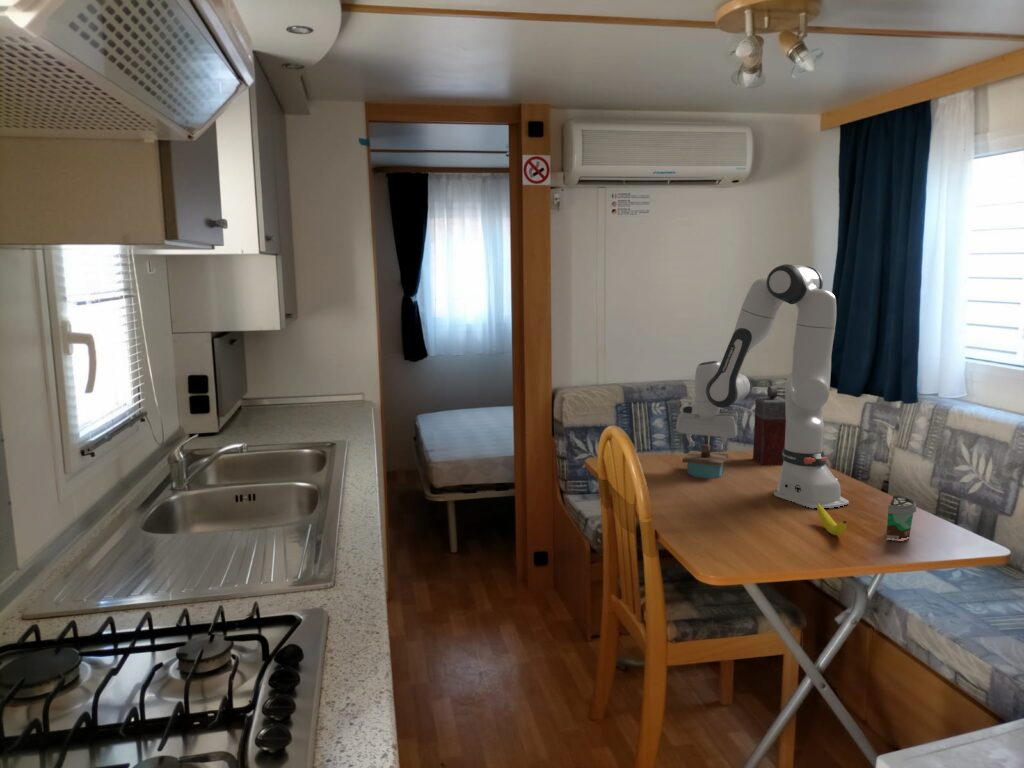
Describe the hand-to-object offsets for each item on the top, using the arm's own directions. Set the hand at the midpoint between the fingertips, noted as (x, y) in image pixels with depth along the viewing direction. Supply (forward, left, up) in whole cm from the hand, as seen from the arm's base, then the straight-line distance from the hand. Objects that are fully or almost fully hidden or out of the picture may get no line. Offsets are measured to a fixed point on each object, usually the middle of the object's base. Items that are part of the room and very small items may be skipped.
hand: (705, 447), depth 258 cm
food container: (-69, -18, -9) cm, 72 cm away
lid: (0, 0, -4) cm, 4 cm away
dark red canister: (+6, -31, -9) cm, 33 cm away
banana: (-60, -3, -9) cm, 61 cm away
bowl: (0, 0, -9) cm, 9 cm away
